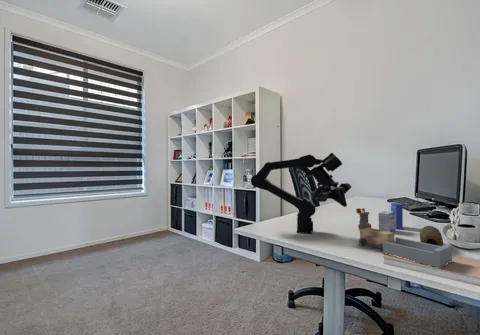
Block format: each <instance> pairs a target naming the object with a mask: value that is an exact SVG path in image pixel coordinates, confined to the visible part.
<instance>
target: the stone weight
mask: <svg viewBox="0 0 480 335" xmlns="http://www.w3.org/2000/svg"><path fill="white" fill-rule="evenodd" d="M419 240H420V241H419V242H422V243H427V244H432V245H437V246H443V245H444V240H443V236H442V232H441V231H440V230H439V229H438V228H436V227H435V226H433V225H426V226H423V227H422V228H421V230H420V231H419Z"/></svg>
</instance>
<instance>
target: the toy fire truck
mask: <svg viewBox="0 0 480 335" xmlns="http://www.w3.org/2000/svg"><path fill="white" fill-rule="evenodd" d="M355 212H356V213H357V214H358V215H359V214H360V213H364V212H366V208H355ZM358 222H359V223H358V227H357V228H358V230H359V231H360V220H359V221H358ZM368 228H372V224H371V223H370V222H368Z"/></svg>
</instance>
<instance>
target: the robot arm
mask: <svg viewBox="0 0 480 335" xmlns="http://www.w3.org/2000/svg"><path fill="white" fill-rule="evenodd" d="M317 165H318V166H317ZM341 166H343V162H342V161H341V160H340V158H339V157H337V156H336V155H335V153H334V152H331V153H329V154H328V156H326V157H324V158H323V159H321V158H316V157H315V156H314V155H312V154H305V155H304V156H303V155H302V156H299V157H297V158H294V159H286V160H279V161H271V162H269V161H267V162H265V163H264V165H263V166H262V168H261V169H260V170H259V171H257V173H256V174H254V175H253V176H251V178H250V183H251V185H252V187H255V188H256V189H260V190H264V191H267V192H269V193H271V194H273V195H274V196H277V197H278V198H280V199H281V200H283V201H285V202H286V203H288V204H290V205H293V206H294V207H295V208H296V209H297V210H298V212H297V215H296V216H297V218H296V224H297V225H296V233H297V234H313V232H314V221H312V216H314V215H315V213H316V205H315V203H314V202H313V200H314V201H318V202H319V203H322V202H326V201H327V200H328V199H330V200H333V201H335V202H336V203H338V204H339V205H341V206H342V207H343V208H346V207H347V205H348V204H347V200H346V194H347V193H348V191H350V190H351V188H352V186H351V184H350V183H348V182H345V183H341V184H339V182H338V181H335V180H334V179H333V175H332V174H329V173H328V172H330V171H331V173H334V171H335V170H337V169H338V168H339V167H341ZM289 168H309V169H310V170H309V169H308V170H307V172H306V176H307V177H308V178H309V179H310V178H312V177H313V178H314V180H315V181H316V182H317V184H316V186H317V188H316V189H315V190H314V191H311V194H310V195H311V198H313V200H312V199H308V198H307V197H305V196H303V198H299V197H297V196H296V195H294V194H292V193H290V192H288V191H286V190H284V189H283V188H281V187H279V186H278V185H275V184H273V183H272V182H271V181H270V180H269V179H268V178H267V177H268V176H269V175H270V173H271V172H272V171H274V170H281V169H282V170H283V169H289ZM311 168H312V169H311ZM324 168H325V169H324ZM338 185H339V186H338Z"/></svg>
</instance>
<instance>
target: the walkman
mask: <svg viewBox="0 0 480 335" xmlns="http://www.w3.org/2000/svg"><path fill="white" fill-rule="evenodd" d="M388 205H389V210H388V211H391V212H395V230H403V229H404V228H403V227H404V225H403V223H404V220H403V217H404V214H403V204H402V203H399V202H396V201H395V202H394V201H393V202H392V201H391V202H389V204H388Z"/></svg>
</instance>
